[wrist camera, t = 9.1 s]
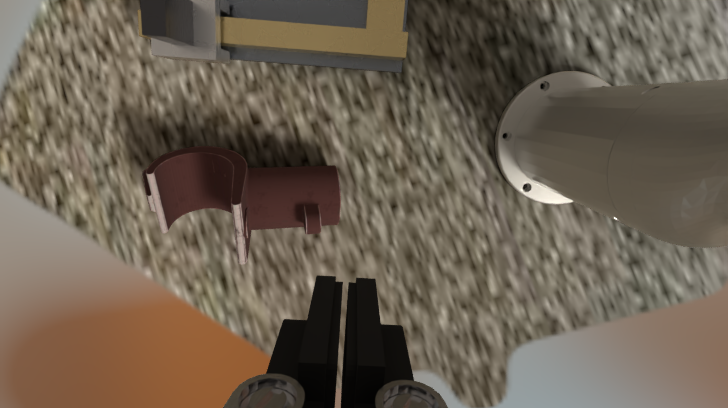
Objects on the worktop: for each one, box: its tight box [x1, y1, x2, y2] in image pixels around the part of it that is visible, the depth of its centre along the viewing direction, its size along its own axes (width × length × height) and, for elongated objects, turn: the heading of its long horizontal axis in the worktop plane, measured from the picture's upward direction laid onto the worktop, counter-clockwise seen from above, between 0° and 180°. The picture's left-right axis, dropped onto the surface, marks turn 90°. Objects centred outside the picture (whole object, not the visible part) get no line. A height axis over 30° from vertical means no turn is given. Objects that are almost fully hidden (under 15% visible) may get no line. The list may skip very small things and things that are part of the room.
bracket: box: [142, 146, 341, 264], centre depth 36 cm, size 6×17×10 cm, turn 90°
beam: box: [138, 0, 408, 61], centre depth 34 cm, size 22×6×2 cm, turn 86°
